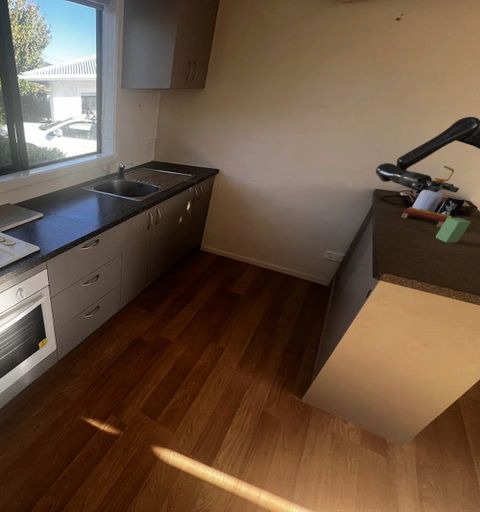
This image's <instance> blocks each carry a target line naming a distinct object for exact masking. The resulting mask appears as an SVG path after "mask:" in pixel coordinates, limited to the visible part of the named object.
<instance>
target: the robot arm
mask: <svg viewBox="0 0 480 512" xmlns="http://www.w3.org/2000/svg"><path fill="white" fill-rule="evenodd" d="M454 142H460V143H463V144H466V145H469V146H472V147H474V148H477V149H478V150H480V119H479V118H478V117H476V116H466V117H463V118H460V119H457V120H456V121H454V122H453V123H452V124H451V125H450V126H449V127H448V128H446V129H445V130H444V131H442V132H441V133H439V134H437V135H436V136H434V137H432V138H431V139H430V140H428V141H426V142H423V143H422V144H421V145H418V146H417V147H415V148H413V149H411V150H410V151H408V152H406V153H405V154H402V155H401V156H399V157H398V158H397V159H396V164H393V163H389V162H386V163H381V164H379V165H378V166H377V167H376V168H375V174H376V175H377V177H378V178H379V180H380V181H381V182H383V183H388V182H392V183H394V184H397V185H400V186H402V187H405V188H409V189H412V190H414V191H423V190H429V191H433V192H438V191H439V190H441V191H447V192H451V193H457V192H458V191H459V190H460V187H457V186H455V184H453V183H449V182H446V181H444V182H442V181H441V182H437V181H436V180H433V179H432V177H431V175H428V174H424V173H420V172H416V171H411V170H408V169H409V168H411V167H412V166H414V165H416V164H418V163H420V162H421V161H423V160H425V159H427V158H429V156H431V155H432V154H434V153H436V152H437V151H439V150H441V149H442V148H444V147H446V146H447V145H449V144H451V143H454ZM439 187H440V188H439Z"/></svg>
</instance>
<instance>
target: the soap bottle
mask: <svg viewBox="0 0 480 512" xmlns="http://www.w3.org/2000/svg"><path fill="white" fill-rule="evenodd" d="M443 168H444V169H447V170H449V171H451V173H450V175H449V177H448V178H447V179H446V178H445V179H444V178H439V177H438V178H437V177H435V178H434V181H437V182H441V181H442V182H448V181H450V180H451V177H452V176H453V174H454V172H455V169H454V168H452V167H449V166H447V165H444V166H443ZM439 188H440V187H439ZM444 197H445V193H444V192H443V190H439V191H438V192H433V191H429V190H420V193H419V194H418V196H417V197H416V200H415V201H414V203H413V205H412V206H411V207H413V208H417V209H422V210H426V211H431V212H436V209H437V208H438V207H437V206H438V204H439V203H440V202H442V200H443V198H444Z"/></svg>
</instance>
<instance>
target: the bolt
mask: <svg viewBox="0 0 480 512" xmlns="http://www.w3.org/2000/svg"><path fill="white" fill-rule="evenodd" d="M475 208H476V205H475V204H470V205H469V206H468V205H462V207H461V208H460V210H459V211H458V212H460V213H461V212H462V213H465V215H466V216H470V215H471V214H472V213H473V211H474V210H475Z"/></svg>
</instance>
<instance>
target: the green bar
mask: <svg viewBox="0 0 480 512" xmlns="http://www.w3.org/2000/svg"><path fill="white" fill-rule="evenodd" d="M471 223H472V222H471V221H469V220H467V219H464V218H461V217H454V218H447V219H446V221H445V222H444V224H443V226H442V227H440V228H439V230H438V232H437V233H436V235H435V237H436V238H435V239H437V238H438V239H437V240H439V241H442V242H444V243H458V242H459V241H460V239H461V238H462V236H463V235H464V233H465V232H466V230H467V229H468V227H469V225H470V224H471Z"/></svg>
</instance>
